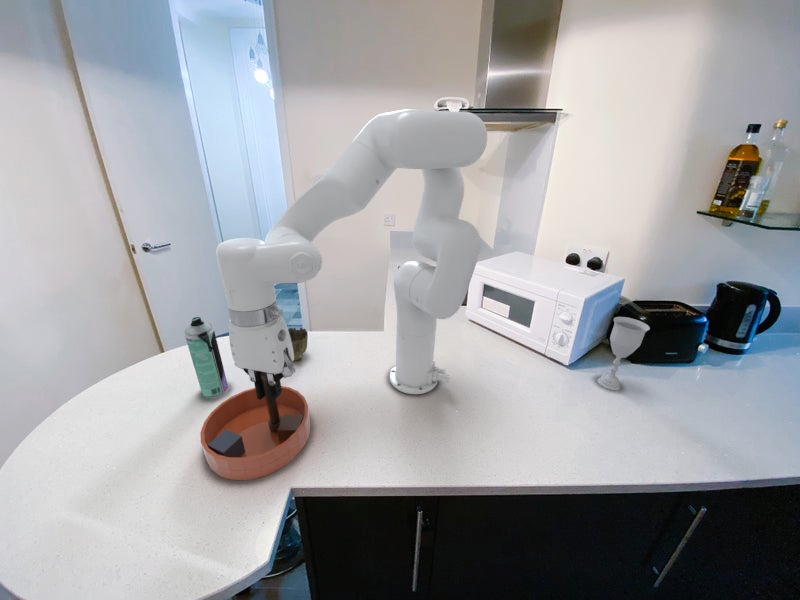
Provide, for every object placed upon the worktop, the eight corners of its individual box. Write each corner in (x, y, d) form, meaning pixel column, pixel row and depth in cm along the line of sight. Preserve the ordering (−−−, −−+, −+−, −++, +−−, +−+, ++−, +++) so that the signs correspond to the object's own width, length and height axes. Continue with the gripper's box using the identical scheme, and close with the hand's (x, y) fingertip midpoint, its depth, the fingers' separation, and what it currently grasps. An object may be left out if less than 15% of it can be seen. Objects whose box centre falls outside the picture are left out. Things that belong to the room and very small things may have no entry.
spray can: (233, 387, 78) (216, 315, 69) (215, 402, 73) (194, 326, 65) (216, 382, 79) (197, 311, 71) (197, 396, 74) (174, 321, 66)
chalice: (589, 383, 83) (610, 323, 75) (596, 372, 87) (616, 314, 80) (622, 396, 78) (647, 334, 71) (627, 384, 83) (651, 324, 75)
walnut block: (305, 429, 66) (303, 414, 64) (300, 445, 62) (298, 430, 60) (286, 429, 65) (283, 414, 64) (279, 445, 62) (277, 430, 60)
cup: (313, 351, 93) (311, 327, 89) (304, 366, 86) (301, 341, 83) (289, 349, 93) (286, 326, 90) (278, 364, 87) (274, 339, 83)
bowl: (326, 413, 70) (324, 394, 68) (275, 494, 53) (270, 472, 51) (251, 397, 75) (247, 378, 72) (182, 467, 57) (174, 446, 55)
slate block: (245, 451, 60) (241, 436, 59) (227, 468, 57) (223, 453, 55) (230, 444, 62) (226, 429, 60) (212, 460, 58) (207, 445, 57)
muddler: (286, 423, 66) (276, 369, 60) (278, 433, 64) (267, 378, 58) (274, 420, 67) (263, 367, 61) (266, 430, 64) (254, 376, 58)
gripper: (307, 308, 56) (316, 390, 63) (230, 298, 59) (247, 377, 67) (283, 328, 49) (296, 417, 57) (198, 315, 52) (221, 401, 60)
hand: (269, 395), depth 62 cm, fingers closed on muddler
